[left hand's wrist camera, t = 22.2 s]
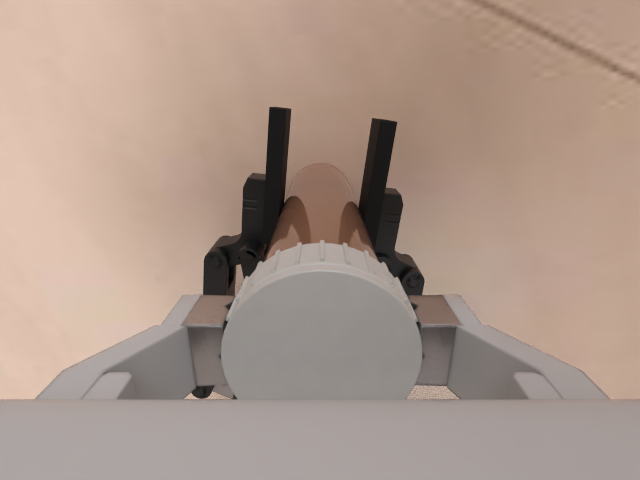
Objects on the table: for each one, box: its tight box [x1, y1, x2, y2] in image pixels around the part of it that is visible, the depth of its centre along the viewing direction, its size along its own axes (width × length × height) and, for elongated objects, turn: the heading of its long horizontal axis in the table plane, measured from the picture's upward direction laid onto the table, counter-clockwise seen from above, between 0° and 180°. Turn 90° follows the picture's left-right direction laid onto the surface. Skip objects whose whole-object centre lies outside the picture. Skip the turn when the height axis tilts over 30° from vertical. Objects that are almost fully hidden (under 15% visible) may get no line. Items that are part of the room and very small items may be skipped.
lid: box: [221, 240, 422, 399], centre depth 9 cm, size 5×5×2 cm
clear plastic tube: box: [263, 164, 379, 262], centre depth 17 cm, size 4×4×17 cm
